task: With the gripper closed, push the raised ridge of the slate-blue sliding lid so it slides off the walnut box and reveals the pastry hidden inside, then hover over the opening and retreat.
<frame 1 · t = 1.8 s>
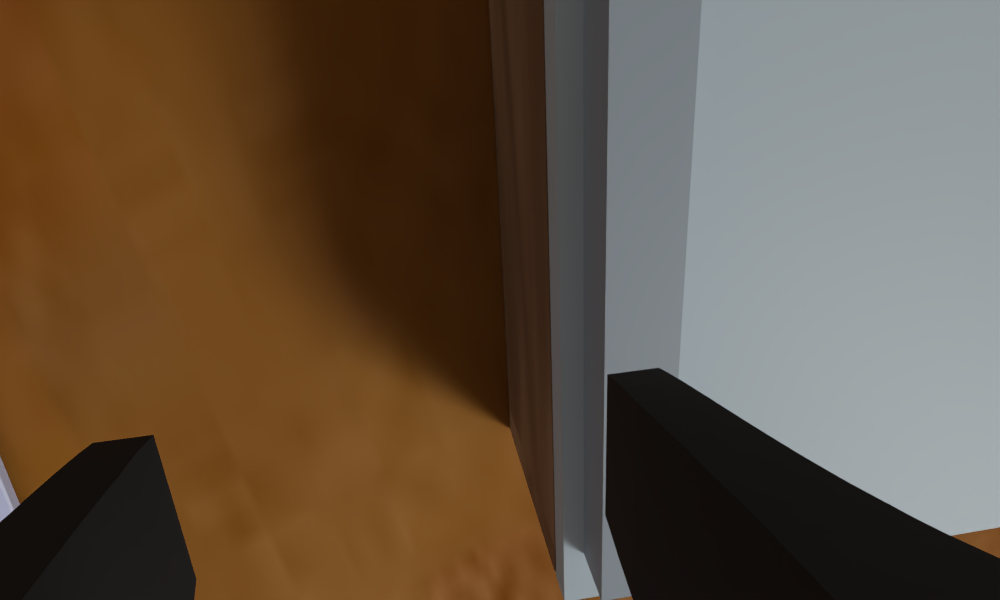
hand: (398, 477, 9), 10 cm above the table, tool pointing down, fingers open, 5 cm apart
lid: (945, 261, 13), point 6 cm above the table, slide at 0.0 cm
walnut box: (770, 164, 19), on the table
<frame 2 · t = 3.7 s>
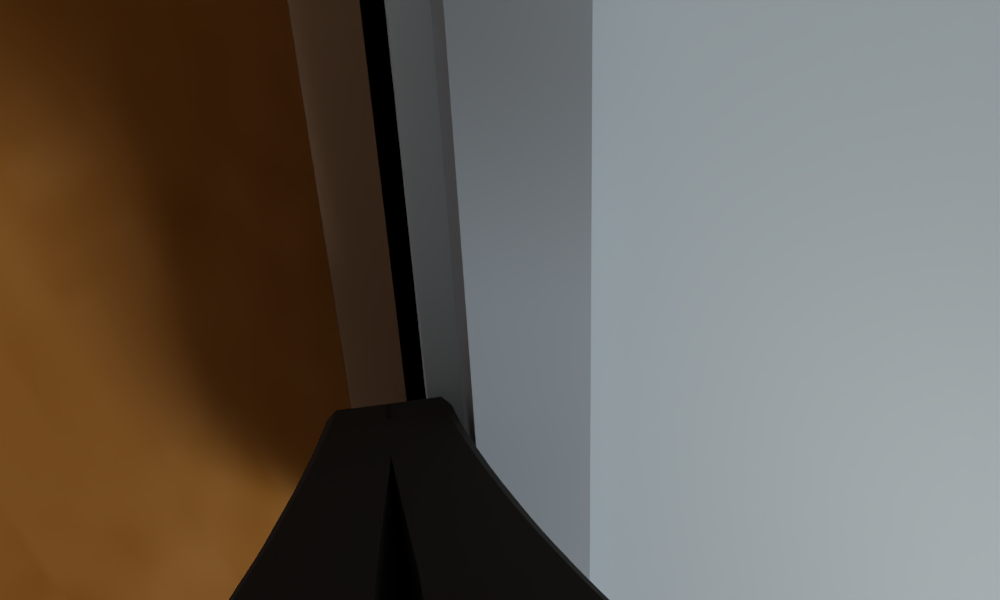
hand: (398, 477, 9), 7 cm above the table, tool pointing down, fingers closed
lid: (956, 383, 10), point 6 cm above the table, slide at 1.0 cm, touching gripper
walnut box: (693, 225, 15), on the table
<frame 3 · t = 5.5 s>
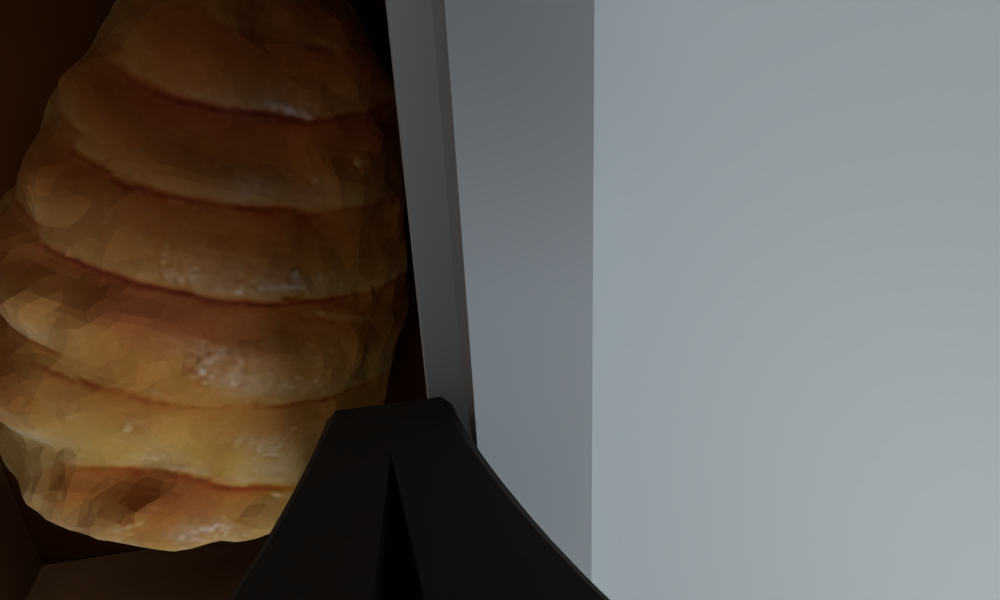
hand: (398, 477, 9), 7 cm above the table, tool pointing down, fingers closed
lid: (959, 382, 10), point 6 cm above the table, slide at 8.8 cm, touching gripper
pastry: (214, 258, 14), resting in walnut box
walnut box: (288, 269, 14), on the table
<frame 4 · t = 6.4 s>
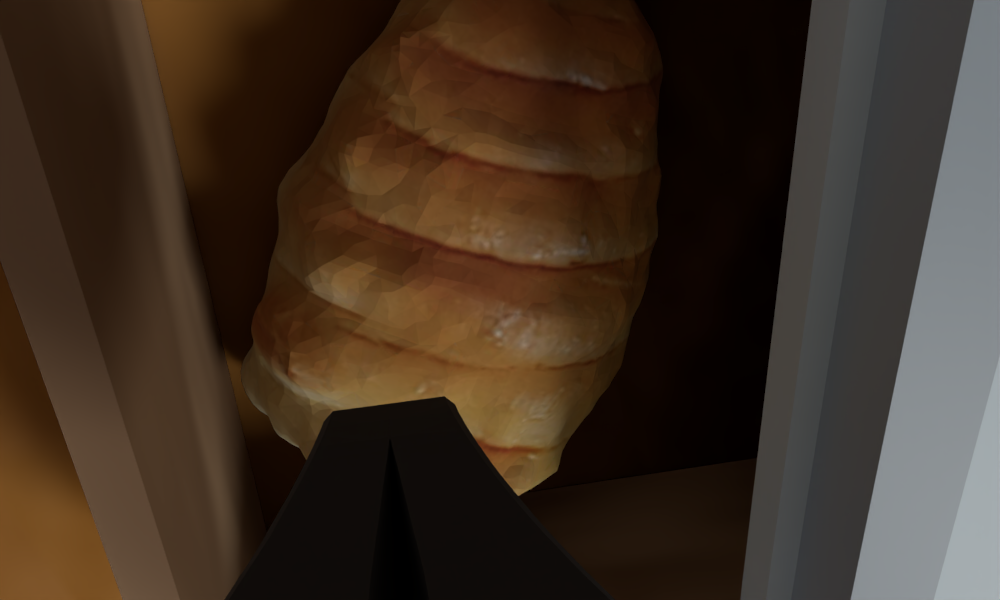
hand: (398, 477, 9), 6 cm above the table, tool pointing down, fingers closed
pastry: (445, 231, 15), resting in walnut box
walnut box: (531, 242, 15), on the table
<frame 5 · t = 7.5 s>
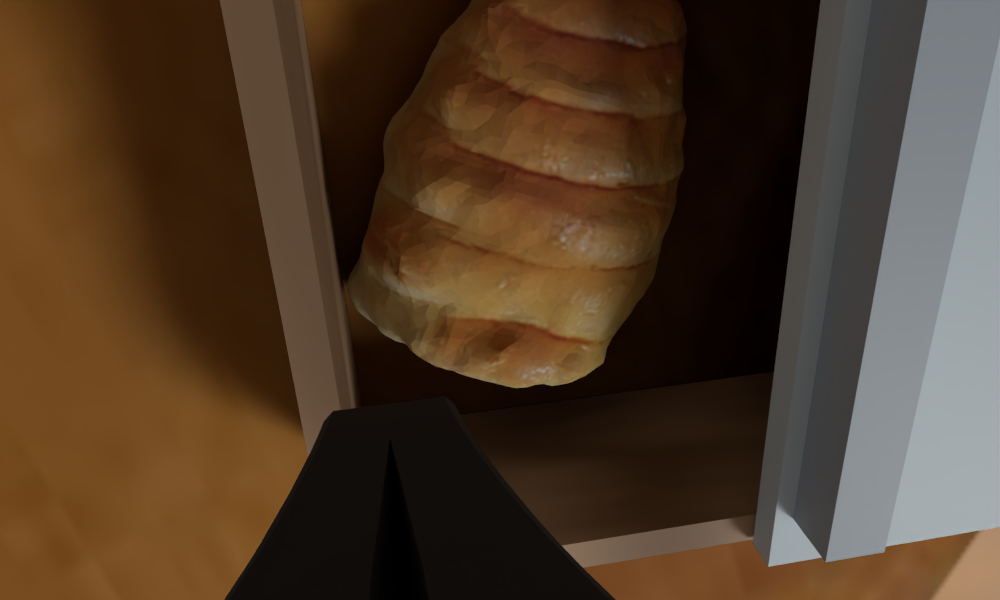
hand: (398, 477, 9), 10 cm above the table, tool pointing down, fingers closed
pastry: (507, 173, 18), resting in walnut box
walnut box: (590, 181, 18), on the table
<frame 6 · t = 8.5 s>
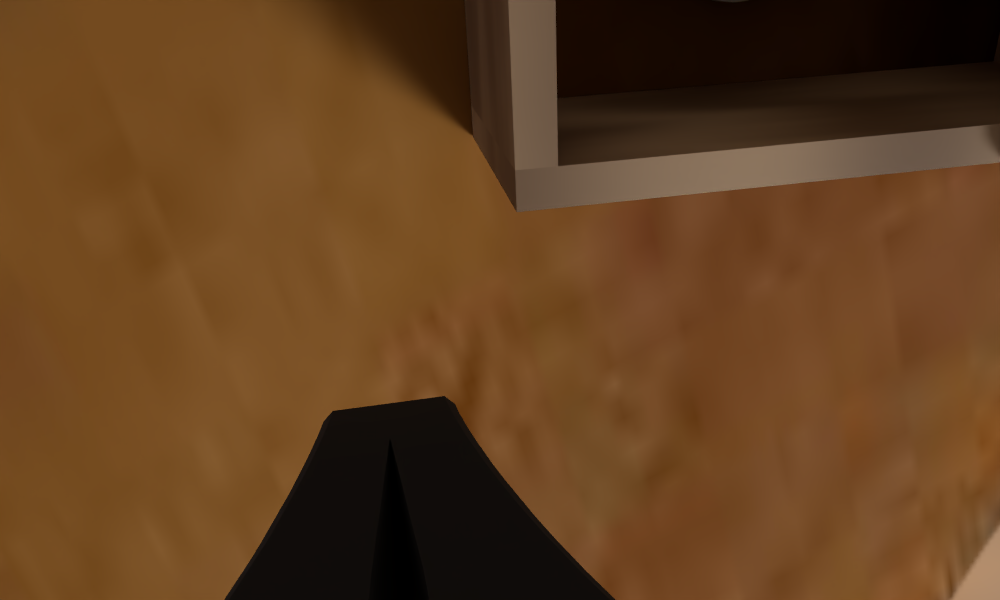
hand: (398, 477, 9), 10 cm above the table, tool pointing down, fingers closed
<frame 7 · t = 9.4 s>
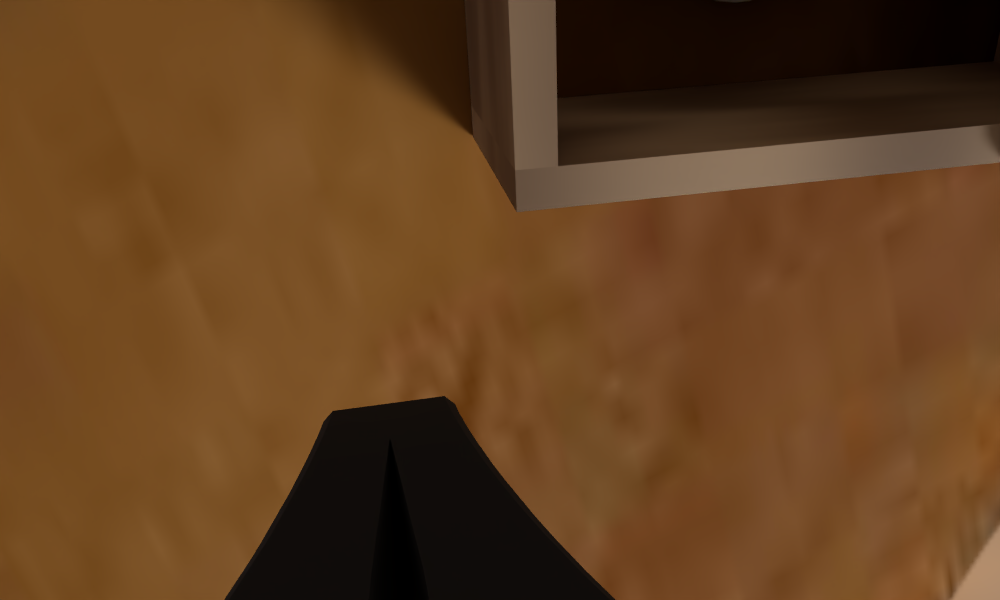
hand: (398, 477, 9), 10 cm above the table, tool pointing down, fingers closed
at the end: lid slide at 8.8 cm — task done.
